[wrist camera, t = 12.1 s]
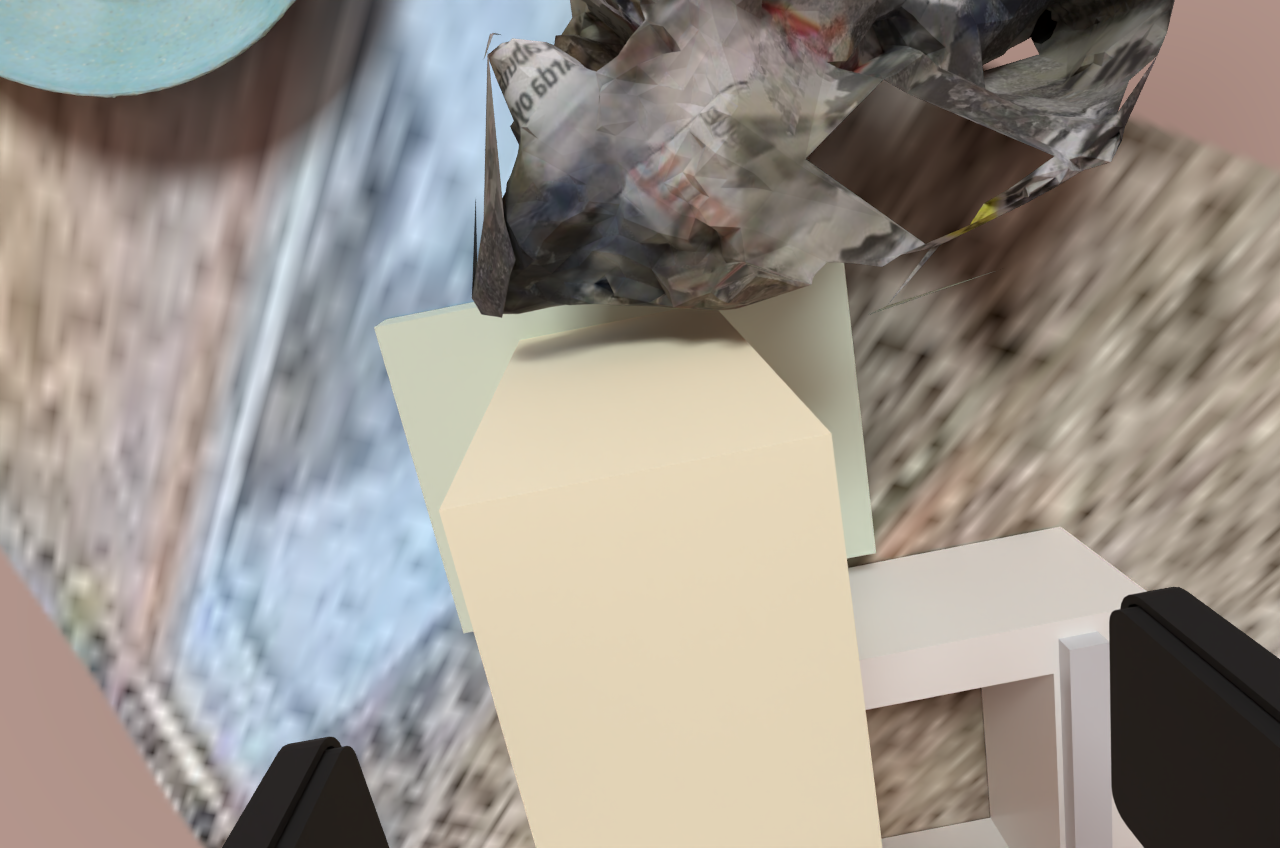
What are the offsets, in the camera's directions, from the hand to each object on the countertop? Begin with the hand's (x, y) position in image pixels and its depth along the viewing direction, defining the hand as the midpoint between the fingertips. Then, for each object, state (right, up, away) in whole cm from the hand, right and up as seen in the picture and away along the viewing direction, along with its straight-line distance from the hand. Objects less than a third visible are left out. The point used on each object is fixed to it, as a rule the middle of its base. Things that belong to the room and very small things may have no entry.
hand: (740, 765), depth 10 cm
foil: (+3, +14, +10) cm, 17 cm away
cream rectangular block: (-1, +3, +12) cm, 12 cm away
